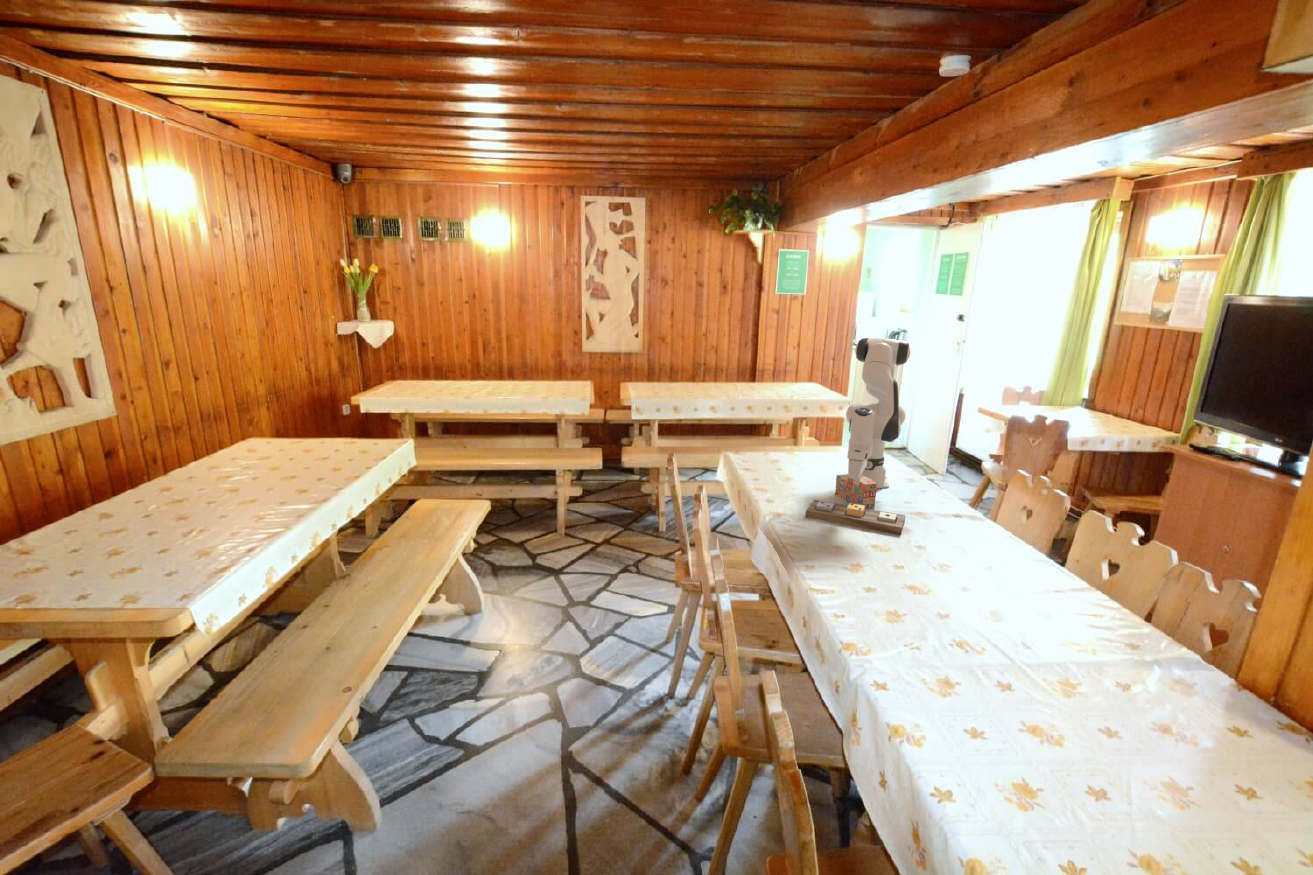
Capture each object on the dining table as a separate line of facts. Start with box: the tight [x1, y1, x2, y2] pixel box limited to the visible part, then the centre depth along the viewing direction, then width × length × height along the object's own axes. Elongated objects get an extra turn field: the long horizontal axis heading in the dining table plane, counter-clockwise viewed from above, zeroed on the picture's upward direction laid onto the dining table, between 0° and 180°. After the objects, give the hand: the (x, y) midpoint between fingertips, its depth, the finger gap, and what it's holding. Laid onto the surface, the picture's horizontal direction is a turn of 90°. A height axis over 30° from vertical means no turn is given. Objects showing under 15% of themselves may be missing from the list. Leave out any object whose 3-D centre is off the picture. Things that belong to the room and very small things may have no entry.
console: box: [805, 499, 906, 535], centre depth 233 cm, size 14×36×3 cm, turn 62°
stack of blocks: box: [834, 473, 877, 510], centre depth 251 cm, size 21×6×12 cm, turn 13°
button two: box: [816, 500, 835, 512], centre depth 238 cm, size 6×6×4 cm
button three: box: [846, 503, 865, 517], centre depth 232 cm, size 6×6×4 cm
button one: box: [878, 511, 898, 523], centre depth 227 cm, size 6×6×4 cm
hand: (856, 483), depth 230 cm, fingers closed
